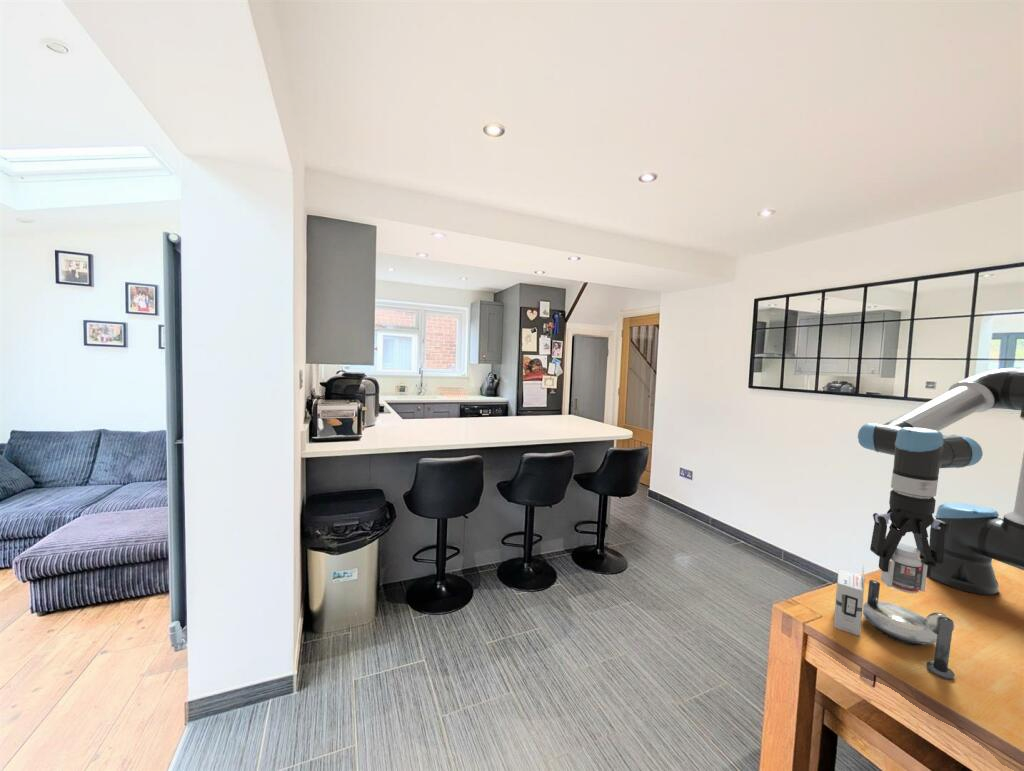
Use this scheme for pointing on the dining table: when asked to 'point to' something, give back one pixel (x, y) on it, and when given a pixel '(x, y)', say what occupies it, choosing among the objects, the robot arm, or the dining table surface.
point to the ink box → (849, 601)
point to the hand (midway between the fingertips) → (902, 585)
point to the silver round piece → (896, 619)
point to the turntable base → (897, 638)
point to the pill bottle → (906, 569)
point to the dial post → (941, 644)
